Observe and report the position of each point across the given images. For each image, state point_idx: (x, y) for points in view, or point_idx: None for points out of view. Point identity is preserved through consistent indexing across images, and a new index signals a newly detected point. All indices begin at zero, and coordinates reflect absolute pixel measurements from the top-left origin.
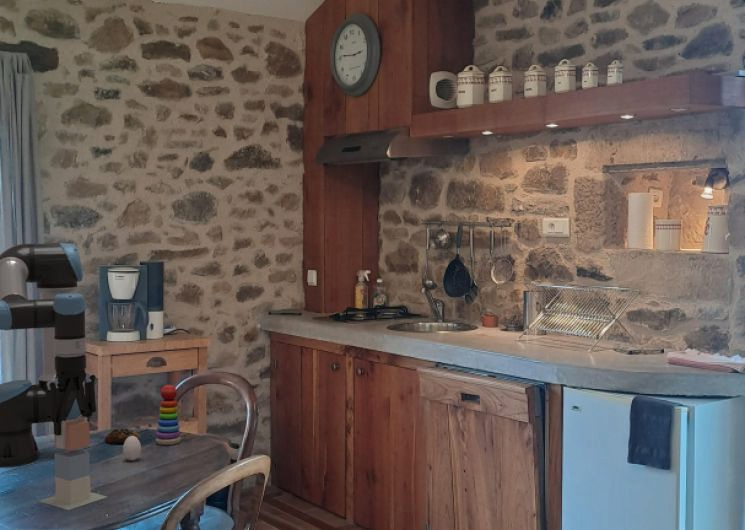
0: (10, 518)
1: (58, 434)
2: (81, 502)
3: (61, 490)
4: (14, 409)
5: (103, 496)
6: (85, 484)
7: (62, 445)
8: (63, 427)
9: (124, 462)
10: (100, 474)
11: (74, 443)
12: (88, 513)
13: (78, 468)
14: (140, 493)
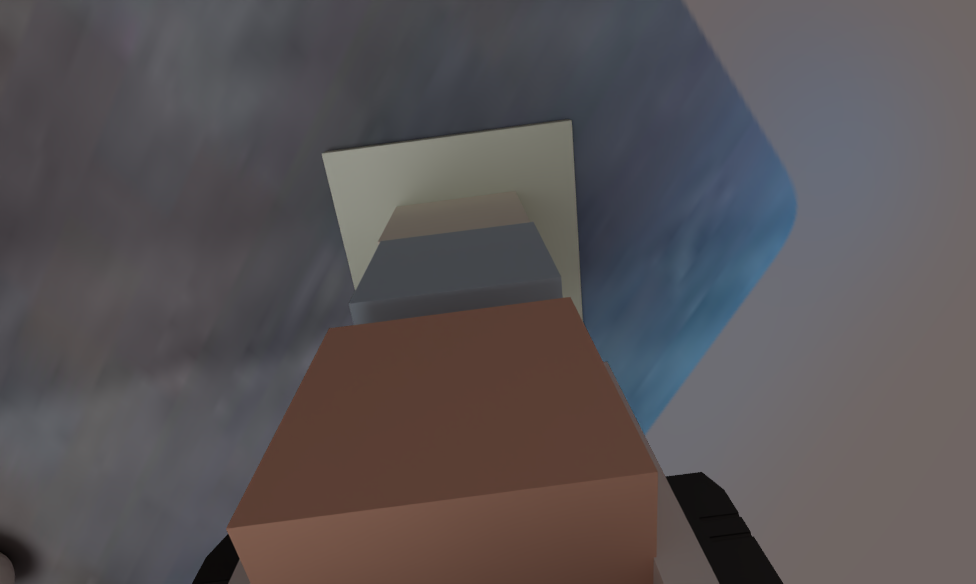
0: (759, 255)
1: (700, 483)
2: (465, 174)
3: None
4: None
5: (336, 175)
6: (419, 223)
7: (615, 385)
8: (681, 538)
9: (40, 552)
10: (194, 487)
11: (521, 333)
12: (505, 30)
13: (467, 250)
14: (135, 109)
